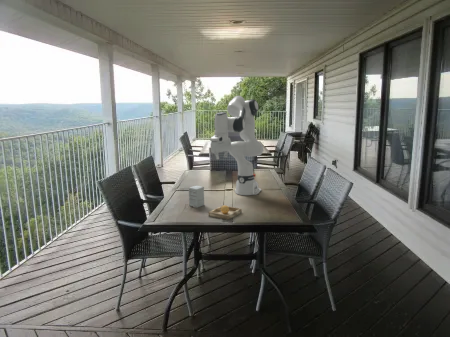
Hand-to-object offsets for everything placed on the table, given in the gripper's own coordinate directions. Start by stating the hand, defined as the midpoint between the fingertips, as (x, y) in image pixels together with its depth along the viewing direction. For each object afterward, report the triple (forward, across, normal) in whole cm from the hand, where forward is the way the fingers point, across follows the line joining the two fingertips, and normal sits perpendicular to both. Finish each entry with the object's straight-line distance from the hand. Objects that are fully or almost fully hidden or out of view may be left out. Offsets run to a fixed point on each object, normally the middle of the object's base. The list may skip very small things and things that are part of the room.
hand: (221, 158), depth 230 cm
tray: (+31, +17, +13) cm, 38 cm away
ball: (+28, +17, +13) cm, 35 cm away
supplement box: (+31, +11, -13) cm, 36 cm away
